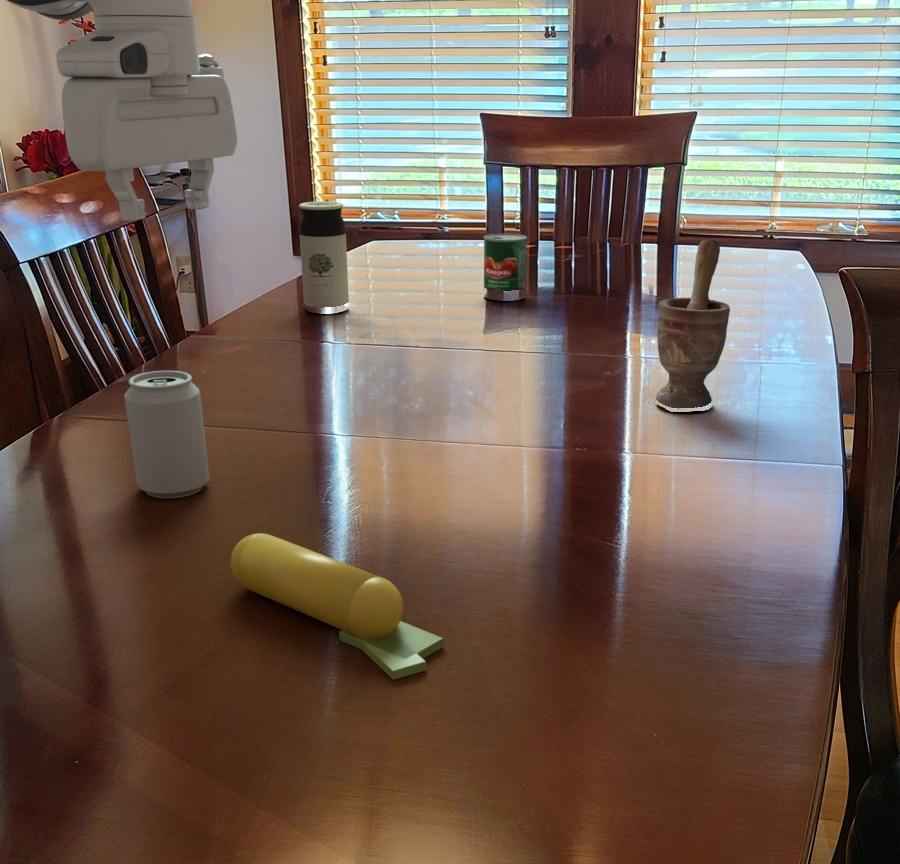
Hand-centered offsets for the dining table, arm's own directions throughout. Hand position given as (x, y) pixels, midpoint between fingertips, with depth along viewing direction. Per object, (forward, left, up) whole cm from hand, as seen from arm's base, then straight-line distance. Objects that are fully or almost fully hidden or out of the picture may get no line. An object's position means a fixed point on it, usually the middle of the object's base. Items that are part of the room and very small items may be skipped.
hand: (167, 214), depth 104 cm
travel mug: (-51, +69, -27) cm, 89 cm away
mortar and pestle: (+26, +59, -27) cm, 70 cm away
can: (0, -3, -27) cm, 28 cm away
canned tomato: (-33, +98, -27) cm, 106 cm away
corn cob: (+35, -14, -27) cm, 46 cm away
